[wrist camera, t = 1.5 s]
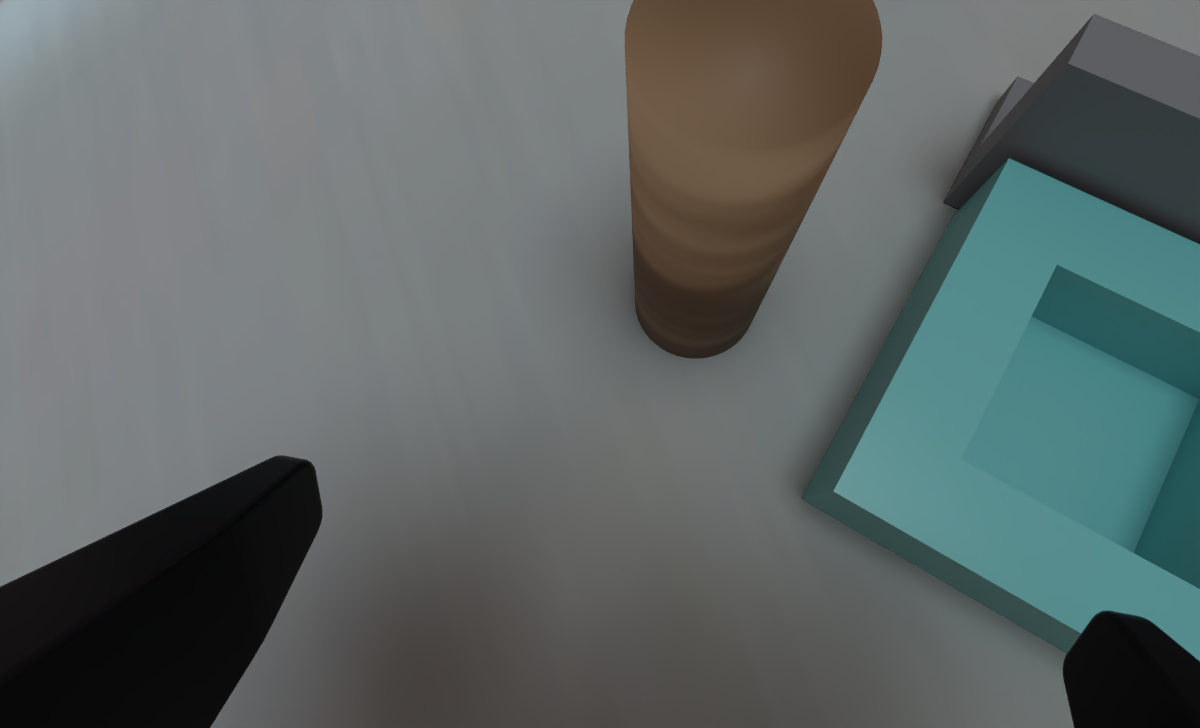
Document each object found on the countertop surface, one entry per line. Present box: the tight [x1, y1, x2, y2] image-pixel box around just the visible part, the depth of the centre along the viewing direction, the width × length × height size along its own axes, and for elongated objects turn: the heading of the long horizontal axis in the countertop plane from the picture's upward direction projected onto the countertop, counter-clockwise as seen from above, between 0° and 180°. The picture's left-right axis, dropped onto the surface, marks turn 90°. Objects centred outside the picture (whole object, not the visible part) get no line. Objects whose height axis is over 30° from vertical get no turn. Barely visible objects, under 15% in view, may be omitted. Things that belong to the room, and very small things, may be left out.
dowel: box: [625, 0, 882, 358], centre depth 17 cm, size 4×4×12 cm
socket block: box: [802, 158, 1200, 661], centre depth 19 cm, size 11×11×4 cm
